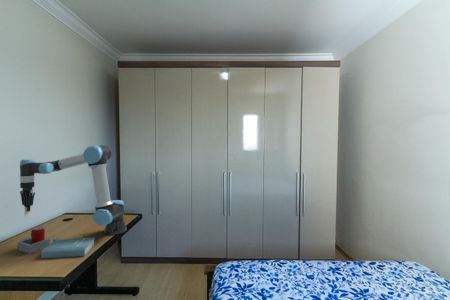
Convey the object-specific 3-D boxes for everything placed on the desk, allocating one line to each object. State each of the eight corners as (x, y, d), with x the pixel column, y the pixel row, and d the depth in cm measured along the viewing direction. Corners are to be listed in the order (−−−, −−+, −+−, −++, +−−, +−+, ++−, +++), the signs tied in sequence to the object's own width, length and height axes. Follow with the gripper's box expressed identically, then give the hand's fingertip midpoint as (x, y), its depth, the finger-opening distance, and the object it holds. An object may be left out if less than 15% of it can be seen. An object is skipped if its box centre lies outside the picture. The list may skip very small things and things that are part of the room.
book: (94, 245, 154) (94, 237, 154) (84, 256, 138) (84, 248, 138) (56, 247, 150) (56, 239, 150) (41, 259, 135) (41, 251, 134)
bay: (58, 244, 153) (58, 236, 153) (31, 254, 139) (31, 246, 139) (44, 240, 159) (44, 233, 158) (17, 250, 145) (17, 242, 144)
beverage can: (37, 244, 153) (37, 225, 153) (47, 244, 153) (47, 226, 152) (28, 248, 146) (28, 229, 146) (38, 249, 146) (38, 230, 146)
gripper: (39, 181, 164) (39, 215, 164) (27, 180, 168) (27, 212, 169) (26, 183, 157) (27, 218, 157) (15, 181, 162) (15, 215, 162)
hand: (27, 215), depth 163 cm, fingers closed
